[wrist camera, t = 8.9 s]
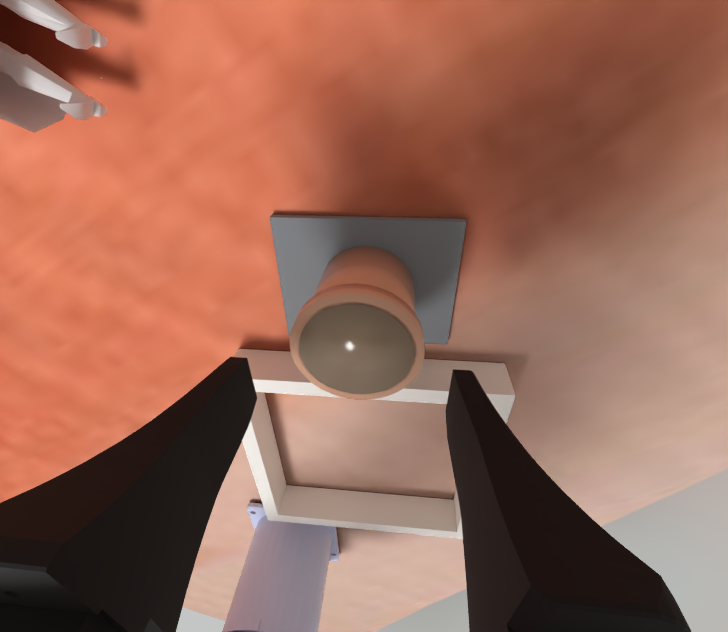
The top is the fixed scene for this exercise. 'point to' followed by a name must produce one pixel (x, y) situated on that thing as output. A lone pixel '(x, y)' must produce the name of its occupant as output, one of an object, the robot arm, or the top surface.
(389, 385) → the terracotta pot
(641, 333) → the top surface
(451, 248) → the slate mat
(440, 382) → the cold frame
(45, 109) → the woman figurine
